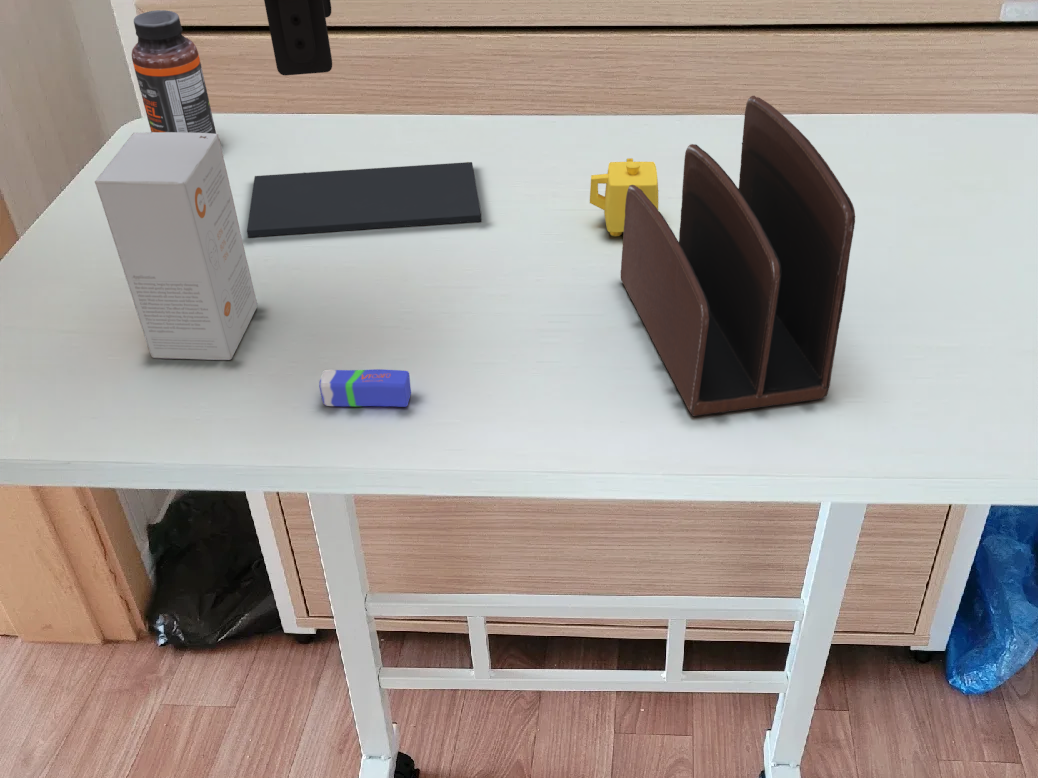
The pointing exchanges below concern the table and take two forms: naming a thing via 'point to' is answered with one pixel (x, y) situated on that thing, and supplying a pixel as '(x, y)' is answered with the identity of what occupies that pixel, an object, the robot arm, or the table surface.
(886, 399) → the table surface
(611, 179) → the teapot
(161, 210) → the small box
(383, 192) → the mat
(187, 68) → the supplement bottle
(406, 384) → the eraser
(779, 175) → the letter holder
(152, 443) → the table surface
